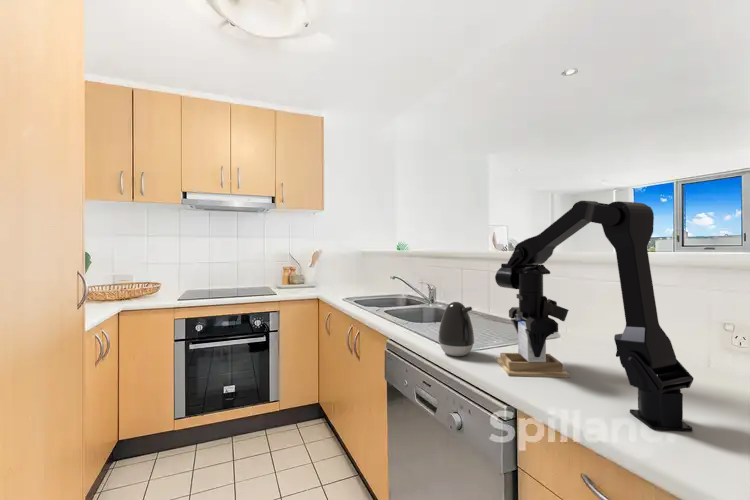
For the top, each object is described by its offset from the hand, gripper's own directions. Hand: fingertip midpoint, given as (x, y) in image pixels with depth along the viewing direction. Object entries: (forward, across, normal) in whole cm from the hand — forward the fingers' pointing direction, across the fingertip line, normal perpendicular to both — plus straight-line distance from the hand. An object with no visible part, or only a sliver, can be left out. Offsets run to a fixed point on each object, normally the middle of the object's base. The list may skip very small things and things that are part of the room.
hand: (531, 352), depth 90 cm
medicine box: (+2, 0, 0) cm, 2 cm away
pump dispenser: (+4, +11, +17) cm, 21 cm away
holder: (+4, 0, 0) cm, 4 cm away
